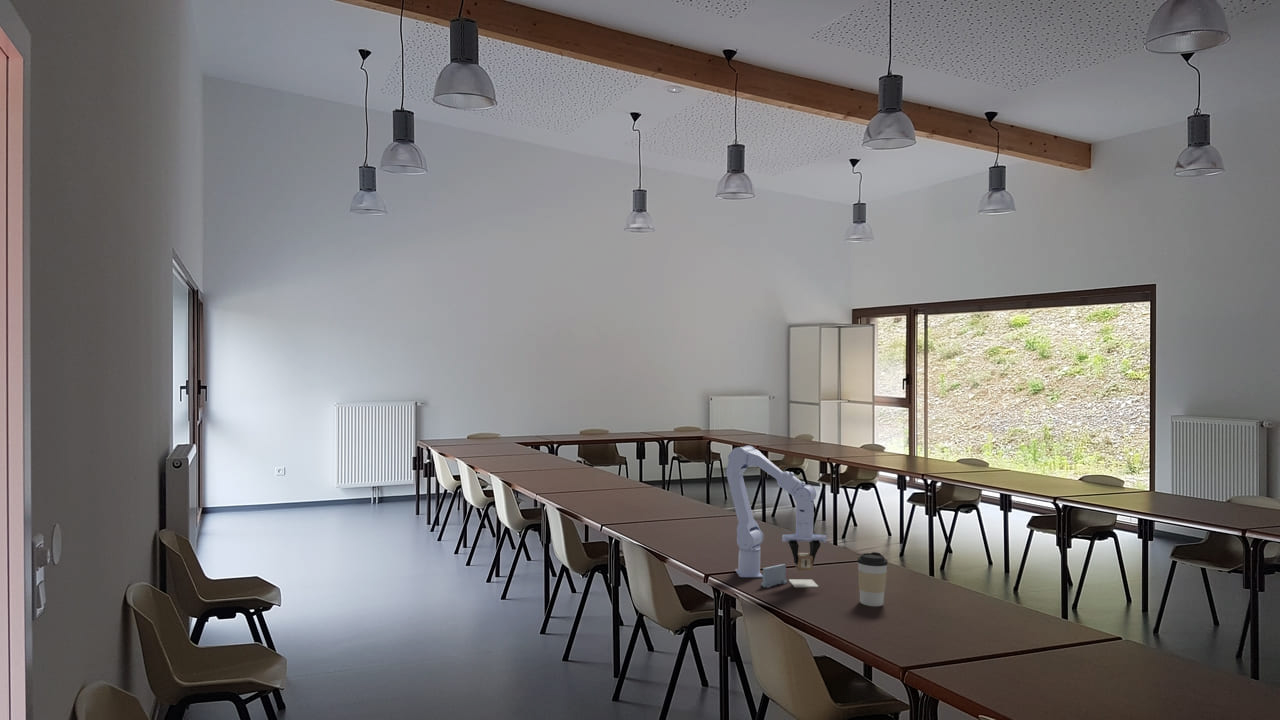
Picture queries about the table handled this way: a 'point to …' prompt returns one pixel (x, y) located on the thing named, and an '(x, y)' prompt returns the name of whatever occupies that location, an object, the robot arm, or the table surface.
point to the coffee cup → (872, 578)
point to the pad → (802, 583)
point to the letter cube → (804, 561)
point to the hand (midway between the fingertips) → (803, 563)
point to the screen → (774, 575)
